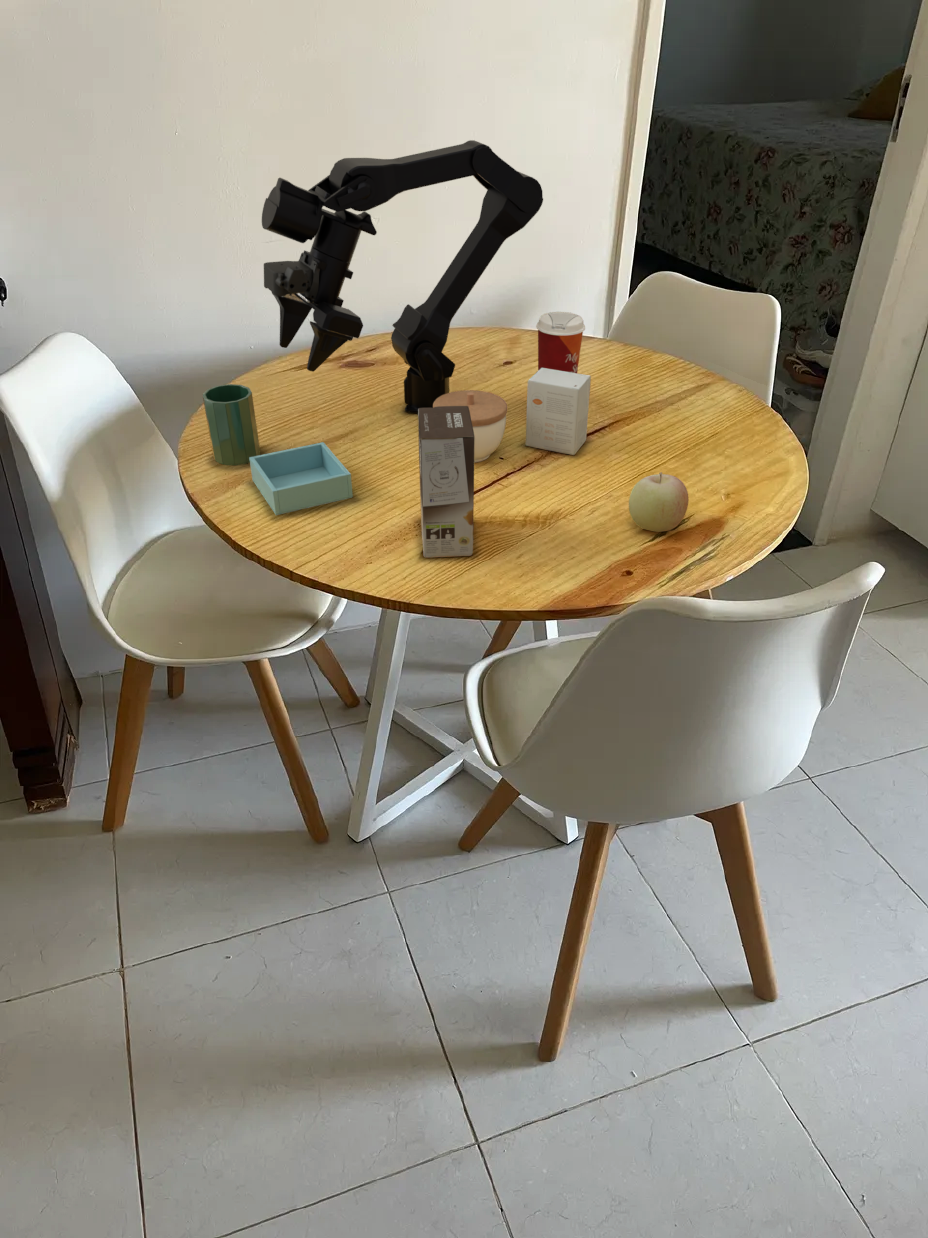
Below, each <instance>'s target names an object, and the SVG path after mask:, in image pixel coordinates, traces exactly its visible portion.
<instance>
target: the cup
mask: <svg viewBox="0 0 928 1238" xmlns="http://www.w3.org/2000/svg"><path fill="white" fill-rule="evenodd" d="M202 401H203V405H204V406H203V407H204V412H205V417H206V423H207V429H208V434H209V439H210V444H211V445H210V446H211V451H212V456H213V459H214V461H215V462H216V463H218V464H220V465H223V466H233V467H235V466H243V465H246V464H247V465H248V464H250V460H249V457H254V456H258V455H261V447H260V441H259V433H258V427H257V419H256V412H255V405H254V397H253V392H252V390H251V388H250V387H248V386H246V385H243V384H236V383H235V384H233V383H226V384H220V385H215V386H212V387H210V388H207V389H206V390H205V391H204V392H203V393H202Z"/></svg>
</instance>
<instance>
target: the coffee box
mask: <svg viewBox="0 0 928 1238" xmlns="http://www.w3.org/2000/svg"><path fill="white" fill-rule="evenodd" d="M417 426H418V427H417V428H418V429H417V430H418V431H417V432H418V433H417V434H418V468H419V470H418V471H419V474H418V475H419V501H420V503H419V504H420V525H421V539H422V541H421V542H422V553H423V557H424V558H446V557H447V558H448V557H449V558H450V557H470V556H473V553H474V509H475V508H474V507H475V506H474V505H475V502H474V501H475V463H474V440H475V436H474V431H473V426H472V421H471V416H470V411H469V407H468V406H438V407H434V408H419V409H418V413H417Z"/></svg>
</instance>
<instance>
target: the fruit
mask: <svg viewBox="0 0 928 1238" xmlns="http://www.w3.org/2000/svg"><path fill="white" fill-rule="evenodd" d="M688 506H689V491H688V489H687V486H686V485H685V483H684V482H683V481H682V479H680V478H679V477H677V476H674V475H672V474H665V473H663V472H662V471H661V472H659V473H658V474H651V475H647V476H645V477H643V478H641V479H639V480H638V481H637V482H636V483H635V484H634V486H633V488H632V489H631V491H630V494H629V497H628V511H629V515H630V518H631V519H632V521H633V522H634V524H635V525H636V526H638V527H639V528H641V529H642V530H646V531H651V532H655V533H662V532H669V531H671V530H673V529H675V528H676V527H678V526H679V525H680V523H681V522H682V521H683V520H684V518H685V516H686V513H687V512H688V511H687V510H688V508H689V507H688Z"/></svg>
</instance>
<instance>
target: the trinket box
mask: <svg viewBox="0 0 928 1238" xmlns="http://www.w3.org/2000/svg"><path fill="white" fill-rule="evenodd" d="M438 406H468V407H469V411H470V416H471V421H472V426H473V431H474V436H475V440H474V464H475V463H480V462H483V461H485V460H487V459H488V458H490V456H491V454H493V453H494V452H495V451H496V450H497V449H498V448H499V446H500V445H501V443H502V441H503V440H504V439H503V438H504V435H505V431H506V426H507V415H508V409H509V408H508V403H507V401H506V400H505V399H504V398H503V397H502V396H500V395H498V394H495V393H493V392H489V391H484V390H479V389H477V390H475V389H464V390H454V391H449V393H447V394H444V395H442V396H440V397H438V398H437V399H436V400H435V402H434V403H433V408H434V407H438Z"/></svg>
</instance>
